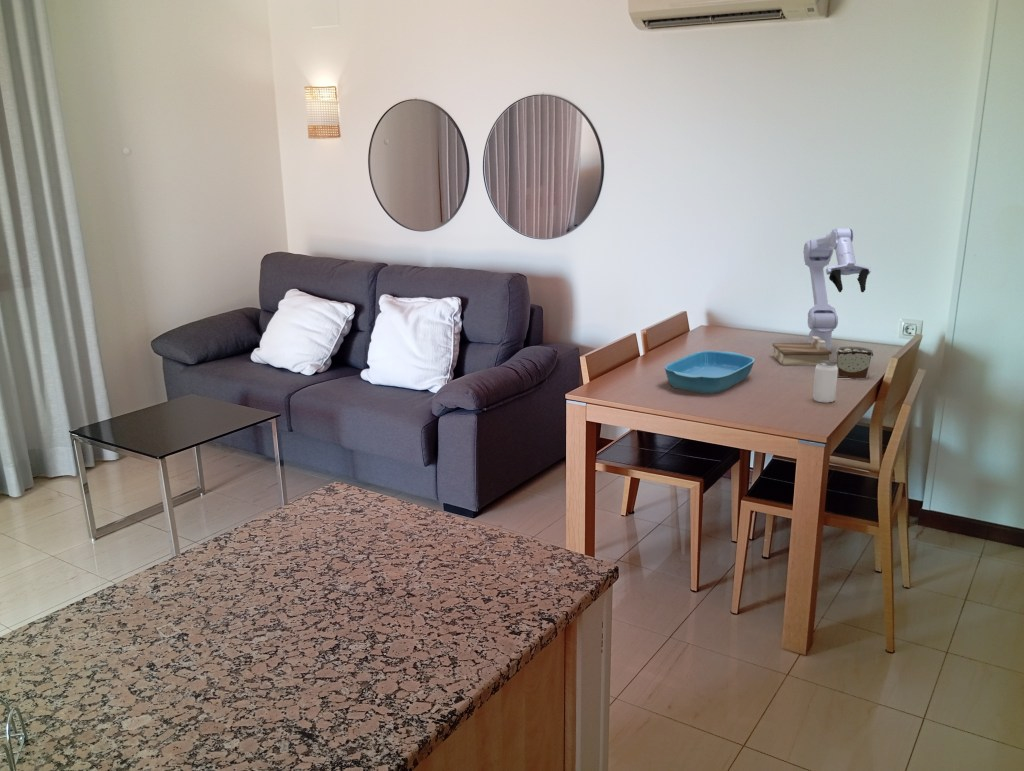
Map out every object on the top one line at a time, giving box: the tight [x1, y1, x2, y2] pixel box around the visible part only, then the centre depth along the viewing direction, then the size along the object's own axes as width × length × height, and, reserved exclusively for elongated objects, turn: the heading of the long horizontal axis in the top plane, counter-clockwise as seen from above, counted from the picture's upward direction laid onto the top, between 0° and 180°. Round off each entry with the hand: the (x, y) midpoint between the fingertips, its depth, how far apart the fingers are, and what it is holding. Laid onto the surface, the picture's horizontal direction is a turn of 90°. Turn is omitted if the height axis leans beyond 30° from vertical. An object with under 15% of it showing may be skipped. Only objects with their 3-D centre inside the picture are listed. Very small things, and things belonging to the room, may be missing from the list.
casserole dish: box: [664, 350, 756, 395], centre depth 272 cm, size 37×22×7 cm, turn 141°
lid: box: [772, 336, 833, 355], centre depth 293 cm, size 14×17×4 cm
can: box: [812, 360, 838, 404], centre depth 249 cm, size 6×6×12 cm
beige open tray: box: [773, 347, 830, 366], centre depth 295 cm, size 13×16×4 cm
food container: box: [834, 345, 874, 380], centre depth 275 cm, size 12×6×10 cm, turn 84°
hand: (852, 290), depth 275 cm, fingers open, 7 cm apart
